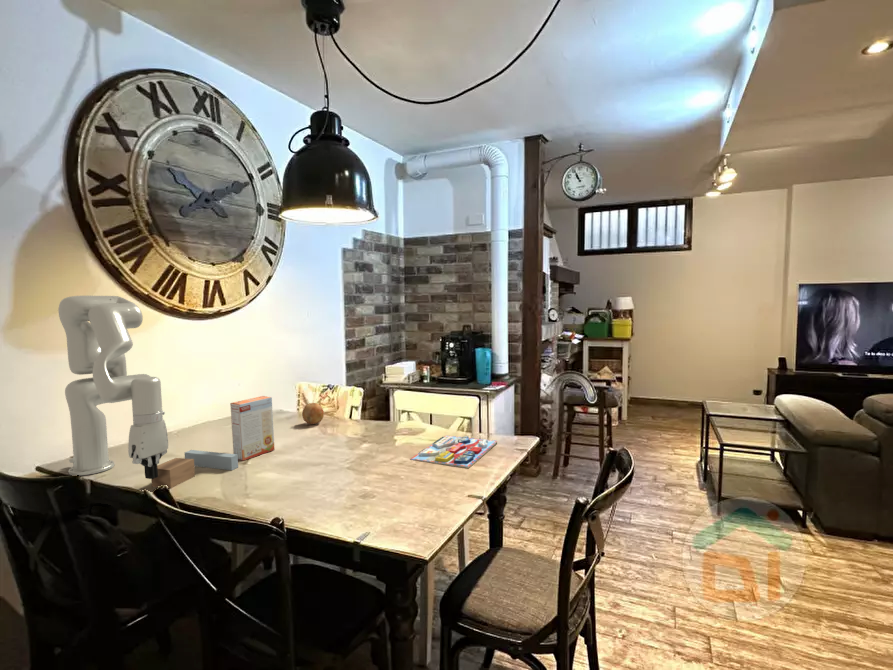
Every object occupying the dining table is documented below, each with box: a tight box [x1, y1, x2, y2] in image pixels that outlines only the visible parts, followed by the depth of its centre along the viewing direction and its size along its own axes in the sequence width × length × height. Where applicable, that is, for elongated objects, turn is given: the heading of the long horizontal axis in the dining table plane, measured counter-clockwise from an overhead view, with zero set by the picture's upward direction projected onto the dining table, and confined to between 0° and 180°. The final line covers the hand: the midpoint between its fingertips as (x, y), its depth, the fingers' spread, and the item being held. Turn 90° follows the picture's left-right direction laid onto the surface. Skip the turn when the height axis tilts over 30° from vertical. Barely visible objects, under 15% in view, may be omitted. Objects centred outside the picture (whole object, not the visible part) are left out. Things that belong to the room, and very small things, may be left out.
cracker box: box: [230, 395, 275, 461], centre depth 174 cm, size 14×6×21 cm, turn 148°
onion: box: [301, 402, 325, 425], centre depth 218 cm, size 10×10×10 cm
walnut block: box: [150, 457, 196, 489], centre depth 149 cm, size 7×10×6 cm
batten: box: [184, 449, 239, 471], centre depth 163 cm, size 20×3×4 cm, turn 73°
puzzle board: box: [409, 435, 498, 469], centre depth 176 cm, size 30×23×3 cm
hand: (151, 477), depth 142 cm, fingers closed
